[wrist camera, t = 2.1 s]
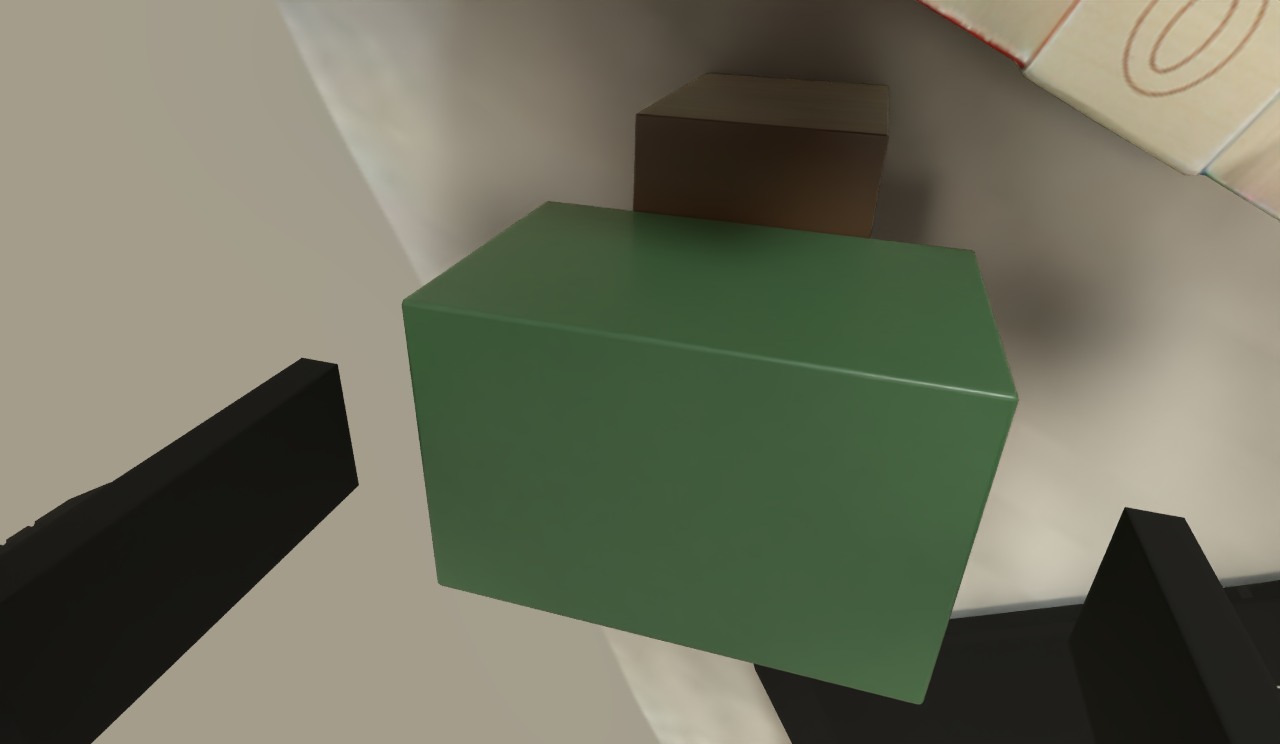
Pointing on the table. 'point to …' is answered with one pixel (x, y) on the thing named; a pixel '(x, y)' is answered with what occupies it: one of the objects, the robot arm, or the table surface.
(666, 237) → the green block
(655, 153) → the walnut block
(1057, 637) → the cell phone
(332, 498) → the robot arm
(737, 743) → the table surface
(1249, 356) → the table surface
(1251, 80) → the stack of blocks
